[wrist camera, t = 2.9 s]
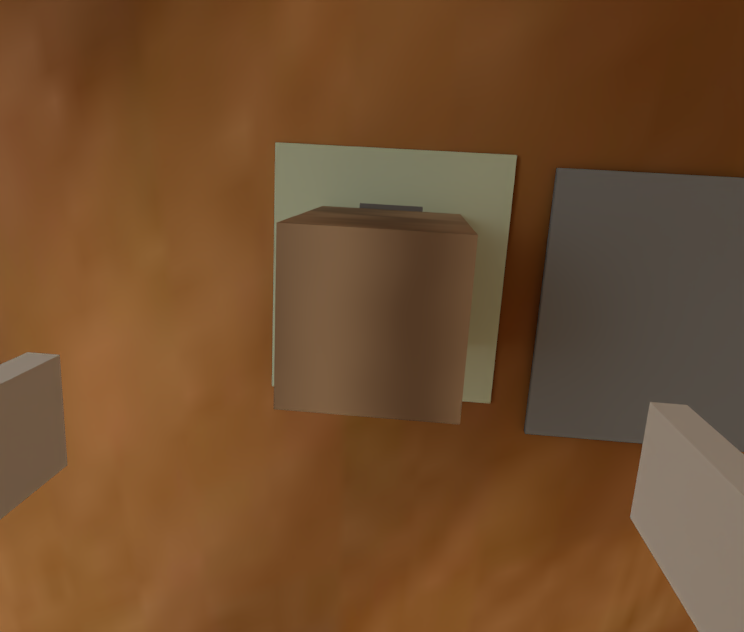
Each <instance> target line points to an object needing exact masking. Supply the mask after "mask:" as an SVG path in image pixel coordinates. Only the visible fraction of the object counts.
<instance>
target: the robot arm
mask: <svg viewBox="0 0 744 632" xmlns="http://www.w3.org/2000/svg"><path fill="white" fill-rule="evenodd" d="M66 466H67V453H66V439H65V424H64V410H63V396H62V382H61V367H60V355H55V354H43V353H30V352H27V353H25V354H23V355H20V356H18V357H16V358H14V359H11V360H9V361H7V362H5V363H2V364H0V519H2V518H3V517H4V516H5V515H7V514H8V513H9V512H10V511H11V510H13V509H14V508H15V507H16V506H18V505H19V504H20V503H21V502H23V501H24V500H25V499H26V498H27V497H29V496H30V495H31V494H32V493H34V492H35V491H36V490H37V489H39V488H40V487H41V486H42V485H43V484H45V483H46V482H47V481H48V480H50V479H51V478H52V477H53V476H55V475H56V474H57V473H58V472H59V471H61V470H62V469H63V468H64V467H66ZM630 518H631V520H632V522H633V523H634V525H635V527H636V528H637V530H638V532H639V533H640V535H641V537H642V538H643V540H644V542H645V543H646V545H647V547H648V548H649V550H650V552H651V553H652V555H653V556H654V558H655V560H656V561H657V563H658V565H659V566H660V568H661V570H662V571H663V573H664V575H665V576H666V578H667V580H668V581H669V583H670V585H671V586H672V588H673V590H674V591H675V593H676V595H677V596H678V598H679V600H680V601H681V603H682V605H683V606H684V608H685V610H686V611H687V613H688V615H689V616H690V618H691V620H692V621H693V623H694V625H695V626H696V628H697V630H698V631H699V632H744V454H743V453H741V452H740V451H739V450H738V449H737V448H736V447H735V446H733V445H732V444H731V443H730V442H729V441H728V440H727V439H725V438H724V437H723V436H722V435H721V434H720V433H719V432H717V431H716V430H715V429H714V428H713V427H712V426H711V425H709V424H708V423H707V422H706V421H705V420H704V419H703V418H701V417H700V416H699V415H698V414H697V413H696V412H695V411H693V410H692V409H691V408H690V407H689V406H688V405H682V404H669V403H657V402H650V405H649V410H648V416H647V422H646V428H645V434H644V439H643V445H642V451H641V457H640V463H639V468H638V474H637V480H636V486H635V492H634V497H633V503H632V509H631V515H630Z"/></svg>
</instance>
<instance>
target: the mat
mask: <svg viewBox="0 0 744 632" xmlns="http://www.w3.org/2000/svg"><path fill="white" fill-rule="evenodd" d="M650 402H657V403H669V404H682V405H688V406H689V407H690V408H691V409H692V410H693V411H695V412H696V413H697V414H698V415H699V416H700V417H701V418H703V419H704V420H705V421H706V422H707V423H708V424H709V425H711V426H712V427H713V428H714V429H715V430H716V431H717V432H719V433H720V434H721V435H722V436H723V437H724V438H725V439H727V440H728V441H729V442H730V443H731V444H732V445H733V446H735V447H736V448H737V449H738V450H739V451H740V452H744V178H737V177H718V176H699V175H681V174H662V173H644V172H625V171H607V170H588V169H570V168H556V176H555V184H554V192H553V200H552V208H551V216H550V224H549V232H548V240H547V248H546V256H545V264H544V273H543V281H542V289H541V297H540V305H539V313H538V321H537V329H536V337H535V345H534V353H533V361H532V370H531V378H530V386H529V394H528V402H527V410H526V418H525V426H524V432H525V434H534V435H546V436H558V437H570V438H582V439H594V440H606V441H618V442H630V443H642V444H643V439H644V434H645V428H646V422H647V416H648V410H649V405H650Z"/></svg>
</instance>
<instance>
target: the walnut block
mask: <svg viewBox="0 0 744 632" xmlns="http://www.w3.org/2000/svg"><path fill="white" fill-rule="evenodd" d="M477 241H478V234H477V233H476V232H475V231H474V230H473V228H472V227H471V226H470V225H469V224H468V223H467V221H466V220H465V219H464V218H463V217H462V216H461V214H451V213H434V212H417V211H400V210H383V209H367V208H350V207H333V206H321V207H318V208H315V209H313V210H310V211H307V212H304V213H302V214H299V215H296V216H293V217H290V218H288V219H285V220H282V221H279V222H277V223H276V289H275V356H274V409H279V410H291V411H303V412H315V413H327V414H339V415H351V416H363V417H375V418H387V419H399V420H412V421H424V422H436V423H448V424H460V419H461V408H462V398H463V387H464V377H465V366H466V356H467V345H468V335H469V324H470V314H471V304H472V293H473V283H474V272H475V262H476V251H477Z"/></svg>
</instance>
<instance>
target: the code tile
mask: <svg viewBox="0 0 744 632" xmlns="http://www.w3.org/2000/svg"><path fill="white" fill-rule="evenodd" d="M516 161H517V155H505V154H486V153H467V152H448V151H429V150H411V149H392V148H373V147H354V146H335V145H316V144H297V143H278V142H275V205H274V276H273V348H272V386H274V356H275V289H276V223H277V222H279V221H282V220H285V219H288V218H290V217H293V216H296V215H299V214H302V213H304V212H307V211H310V210H313V209H315V208H318V207H321V206H333V207H350V208H367V209H383V210H400V211H417V212H434V213H451V214H461V216H462V217H463V218H464V219H465V220H466V221H467V223H468V224H469V225H470V226H471V227H472V228H473V230H474V231H475V232H476V233H477V234H478V241H477V251H476V262H475V272H474V283H473V293H472V304H471V314H470V324H469V335H468V345H467V356H466V366H465V377H464V387H463V398H462V401H465V402H477V403H490V402H491V392H492V383H493V374H494V365H495V355H496V346H497V337H498V327H499V318H500V309H501V300H502V290H503V281H504V272H505V263H506V253H507V244H508V235H509V225H510V216H511V207H512V198H513V188H514V179H515V170H516Z"/></svg>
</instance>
